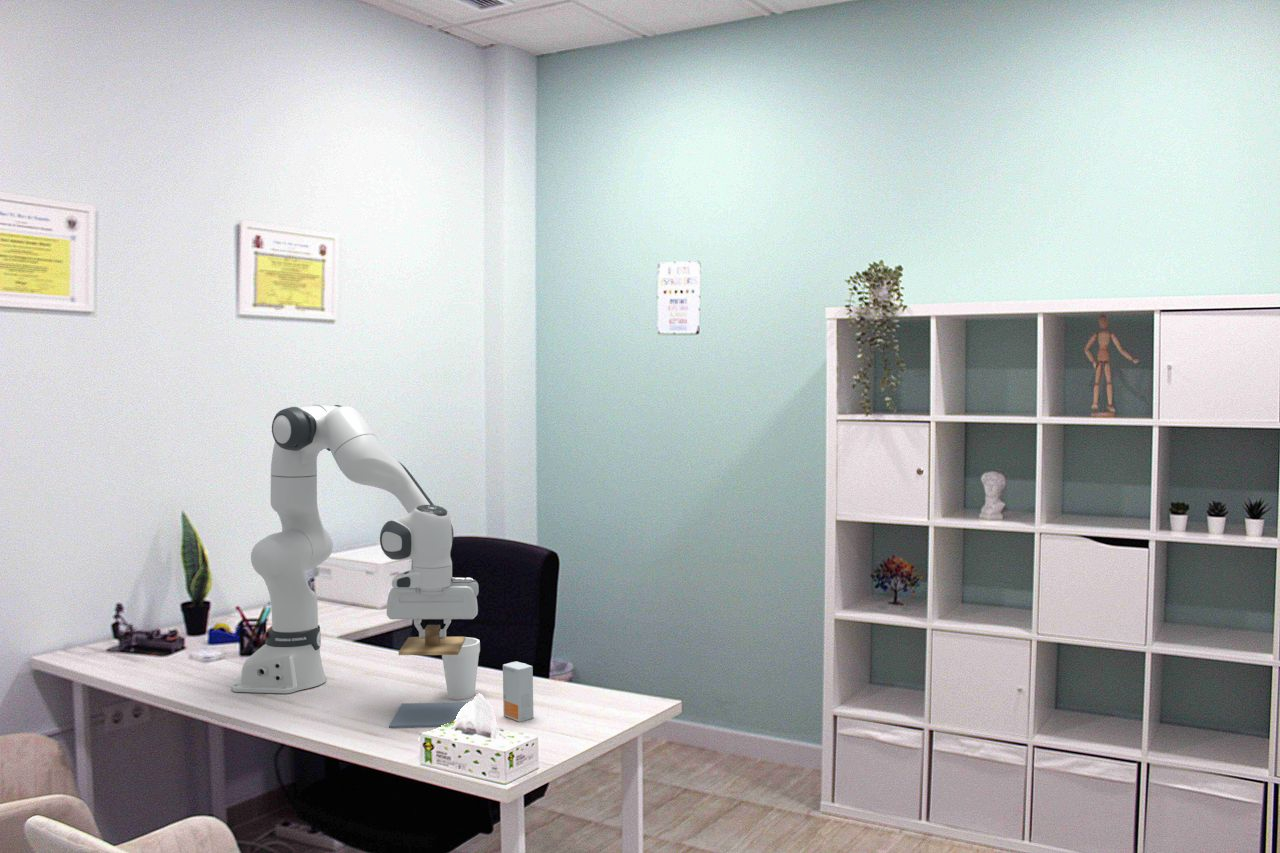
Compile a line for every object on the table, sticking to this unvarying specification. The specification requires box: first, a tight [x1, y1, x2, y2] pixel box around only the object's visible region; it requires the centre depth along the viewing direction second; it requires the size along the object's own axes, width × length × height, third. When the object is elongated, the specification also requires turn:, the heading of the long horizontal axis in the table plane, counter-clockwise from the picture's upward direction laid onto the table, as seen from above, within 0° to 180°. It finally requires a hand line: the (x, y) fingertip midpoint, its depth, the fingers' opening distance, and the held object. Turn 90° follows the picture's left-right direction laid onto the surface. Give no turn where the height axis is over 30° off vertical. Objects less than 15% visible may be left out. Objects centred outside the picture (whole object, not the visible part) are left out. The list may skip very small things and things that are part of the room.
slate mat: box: [388, 701, 469, 729], centre depth 244 cm, size 18×16×1 cm
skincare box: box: [502, 661, 534, 723], centre depth 241 cm, size 6×4×12 cm
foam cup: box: [441, 636, 481, 700], centre depth 259 cm, size 10×9×13 cm
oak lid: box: [398, 624, 466, 656], centre depth 243 cm, size 13×13×5 cm
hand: (432, 638), depth 243 cm, fingers closed on oak lid, 3 cm apart
